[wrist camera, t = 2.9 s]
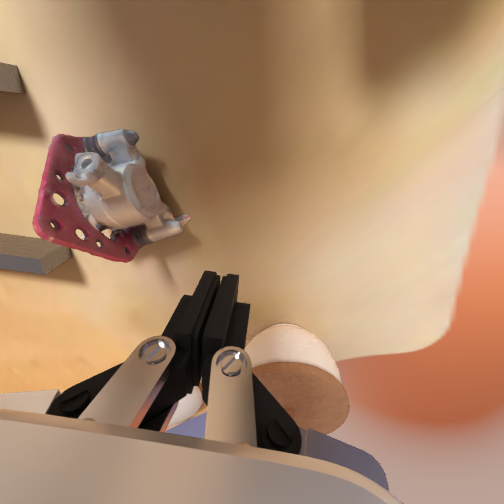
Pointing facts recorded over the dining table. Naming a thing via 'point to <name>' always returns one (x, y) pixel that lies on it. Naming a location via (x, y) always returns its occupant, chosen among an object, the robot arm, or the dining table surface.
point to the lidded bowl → (300, 376)
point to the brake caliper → (102, 197)
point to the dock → (19, 247)
